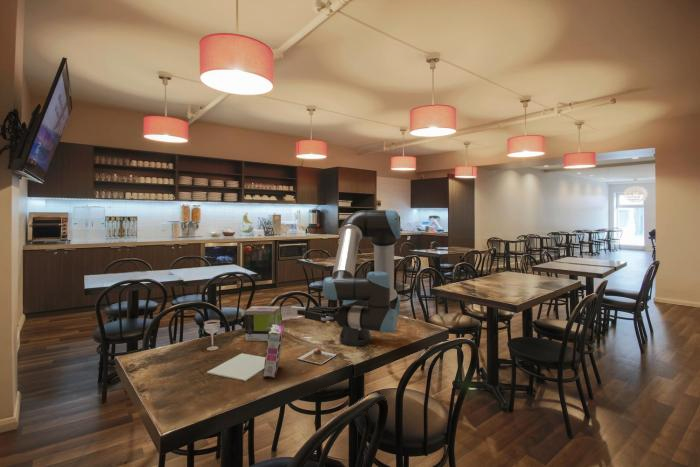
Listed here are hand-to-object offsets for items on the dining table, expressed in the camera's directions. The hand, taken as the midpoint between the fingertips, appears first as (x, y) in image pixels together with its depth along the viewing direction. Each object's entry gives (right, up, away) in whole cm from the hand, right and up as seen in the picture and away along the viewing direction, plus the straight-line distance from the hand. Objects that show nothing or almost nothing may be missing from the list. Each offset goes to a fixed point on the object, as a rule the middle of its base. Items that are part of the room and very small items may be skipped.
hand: (291, 310), depth 131 cm
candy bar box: (-9, -24, +5) cm, 26 cm away
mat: (-21, -24, +10) cm, 33 cm away
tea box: (-21, -23, +44) cm, 54 cm away
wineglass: (-40, -24, +30) cm, 56 cm away
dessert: (+8, -25, +19) cm, 32 cm away
